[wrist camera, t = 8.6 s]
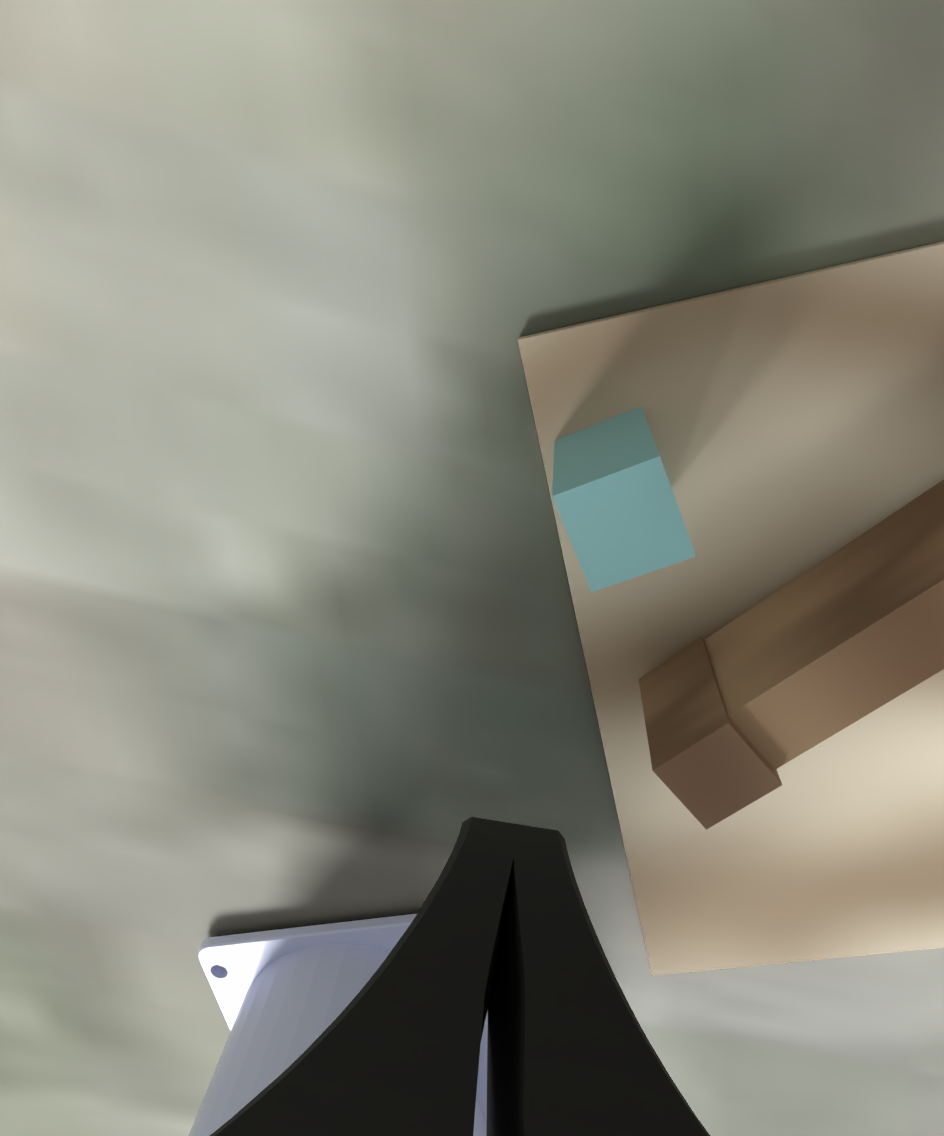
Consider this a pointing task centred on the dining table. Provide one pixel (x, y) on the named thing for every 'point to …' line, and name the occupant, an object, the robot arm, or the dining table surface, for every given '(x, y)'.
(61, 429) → the dining table surface
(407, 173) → the dining table surface
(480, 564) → the dining table surface
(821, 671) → the tan wooden bar
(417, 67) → the dining table surface
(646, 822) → the board
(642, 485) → the post
